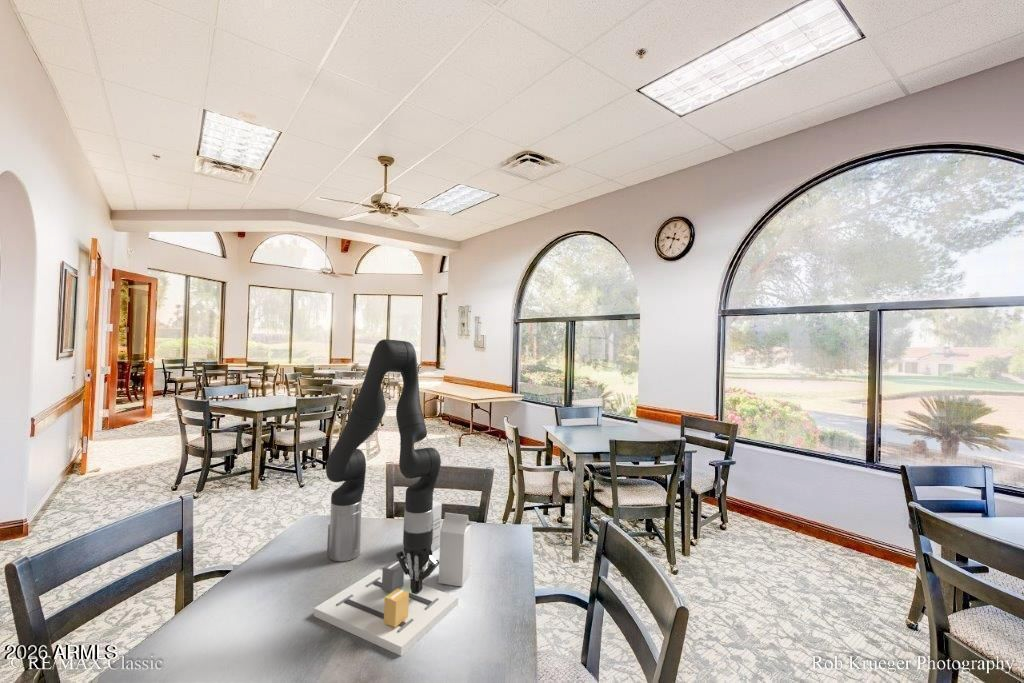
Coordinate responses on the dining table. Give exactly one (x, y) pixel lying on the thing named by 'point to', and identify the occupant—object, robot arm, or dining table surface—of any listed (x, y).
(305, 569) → the dining table surface
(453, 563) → the milk carton
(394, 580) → the fader charcoal
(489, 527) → the dining table surface
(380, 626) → the board
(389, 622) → the fader amber
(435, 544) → the supplement box
